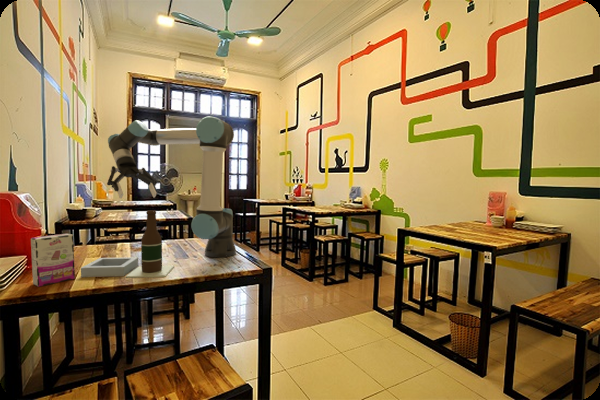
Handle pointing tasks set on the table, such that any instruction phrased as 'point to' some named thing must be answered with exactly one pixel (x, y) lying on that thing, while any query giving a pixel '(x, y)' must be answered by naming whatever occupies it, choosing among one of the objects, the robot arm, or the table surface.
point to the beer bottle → (151, 246)
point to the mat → (139, 274)
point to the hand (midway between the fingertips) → (138, 195)
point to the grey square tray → (109, 267)
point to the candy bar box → (52, 259)
